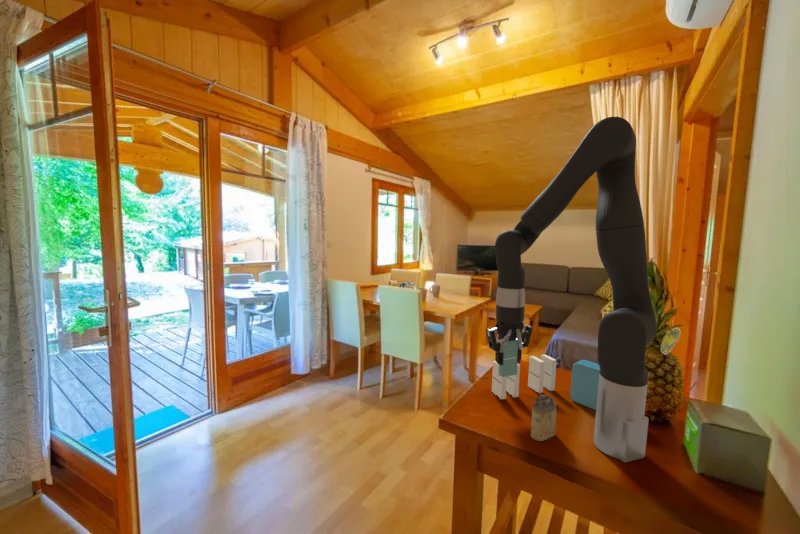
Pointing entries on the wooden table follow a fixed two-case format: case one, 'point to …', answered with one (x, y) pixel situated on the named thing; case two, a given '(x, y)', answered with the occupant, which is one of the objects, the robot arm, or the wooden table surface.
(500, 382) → the domino
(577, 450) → the wooden table surface
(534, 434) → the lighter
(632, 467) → the wooden table surface
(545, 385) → the domino
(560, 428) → the wooden table surface
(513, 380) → the domino
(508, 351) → the domino
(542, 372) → the domino
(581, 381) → the blue flat block
